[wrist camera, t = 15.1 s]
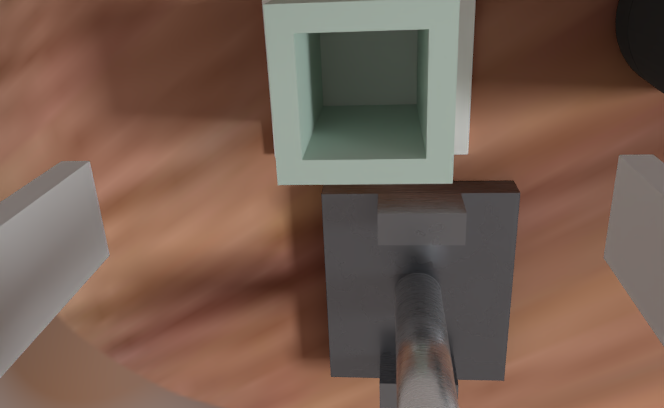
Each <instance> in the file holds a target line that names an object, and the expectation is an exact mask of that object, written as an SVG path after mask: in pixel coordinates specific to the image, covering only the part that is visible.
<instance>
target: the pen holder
mask: <svg viewBox="0 0 664 408" xmlns="http://www.w3.org/2000/svg"><path fill="white" fill-rule="evenodd" d="M616 36H617V41H618V44H619V47H620V50H621V53H622V55H623V56H624V58H625V60H626V62H627V63H628V64H629V66H630V67H631V68H632V69H633V70H634V71H635V72H636V73H637V74H638V75H639V76H640V77H642V78H643V79H644V80H646V81H647V82H648V83H650V84H651V85H653V86H654V87H655V88H657V89H658V90H659V91H661V92H662V93H664V0H619V3H618V7H617V12H616Z"/></svg>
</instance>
